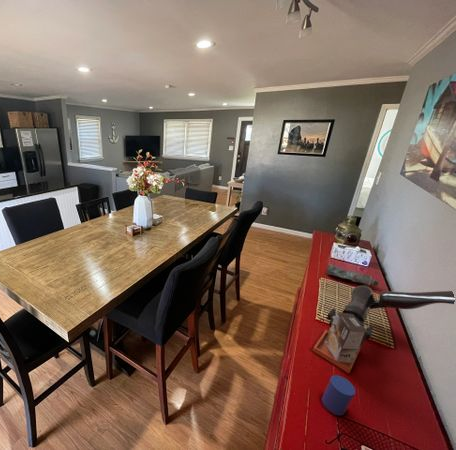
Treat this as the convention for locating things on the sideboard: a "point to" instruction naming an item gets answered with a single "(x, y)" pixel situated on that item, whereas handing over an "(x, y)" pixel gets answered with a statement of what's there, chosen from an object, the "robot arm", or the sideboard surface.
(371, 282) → the dark stone rod
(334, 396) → the blue tin
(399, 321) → the sideboard surface
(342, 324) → the coffee box
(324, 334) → the tray
